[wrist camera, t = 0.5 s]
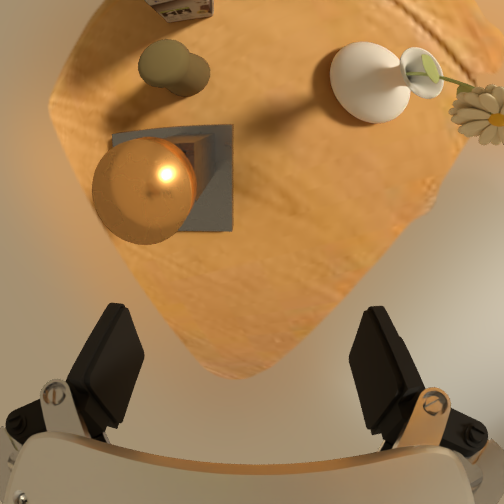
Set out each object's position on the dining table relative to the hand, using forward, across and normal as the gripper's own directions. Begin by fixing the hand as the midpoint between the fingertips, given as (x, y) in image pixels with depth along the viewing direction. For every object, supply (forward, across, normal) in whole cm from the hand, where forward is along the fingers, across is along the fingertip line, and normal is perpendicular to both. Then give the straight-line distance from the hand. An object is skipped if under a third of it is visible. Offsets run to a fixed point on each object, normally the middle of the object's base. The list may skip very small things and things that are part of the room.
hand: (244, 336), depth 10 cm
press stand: (+28, +11, 0) cm, 30 cm away
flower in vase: (+28, -16, -13) cm, 35 cm away
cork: (+28, +8, -14) cm, 33 cm away
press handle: (+21, +7, -3) cm, 22 cm away
